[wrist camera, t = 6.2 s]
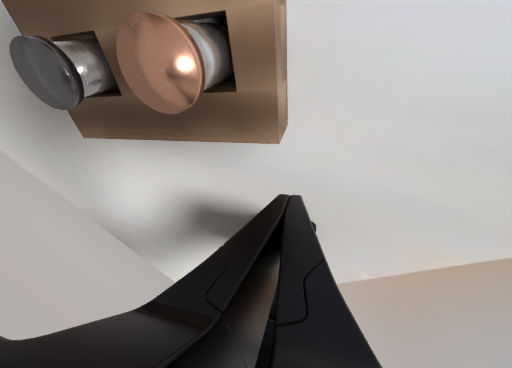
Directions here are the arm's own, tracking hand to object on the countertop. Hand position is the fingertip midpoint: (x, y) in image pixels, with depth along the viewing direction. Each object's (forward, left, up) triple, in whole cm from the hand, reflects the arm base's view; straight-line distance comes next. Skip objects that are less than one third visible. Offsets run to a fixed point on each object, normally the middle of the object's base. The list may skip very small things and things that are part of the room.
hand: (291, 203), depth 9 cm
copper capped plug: (+5, +7, -10) cm, 13 cm away
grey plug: (+5, +17, -11) cm, 21 cm away
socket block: (+5, +12, -12) cm, 18 cm away
